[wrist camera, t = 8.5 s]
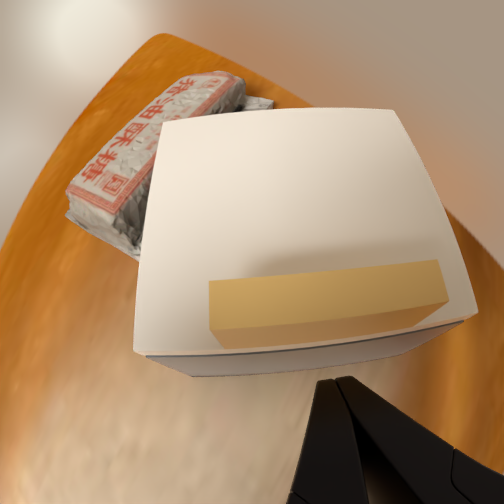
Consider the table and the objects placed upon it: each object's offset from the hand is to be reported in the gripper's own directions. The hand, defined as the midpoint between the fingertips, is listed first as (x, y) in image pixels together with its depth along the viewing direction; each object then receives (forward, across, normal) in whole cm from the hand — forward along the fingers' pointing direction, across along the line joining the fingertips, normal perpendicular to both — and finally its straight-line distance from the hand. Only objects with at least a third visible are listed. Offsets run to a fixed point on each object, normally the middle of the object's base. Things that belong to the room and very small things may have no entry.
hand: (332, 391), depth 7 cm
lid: (+7, 0, -3) cm, 8 cm away
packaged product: (+21, +7, -6) cm, 23 cm away
